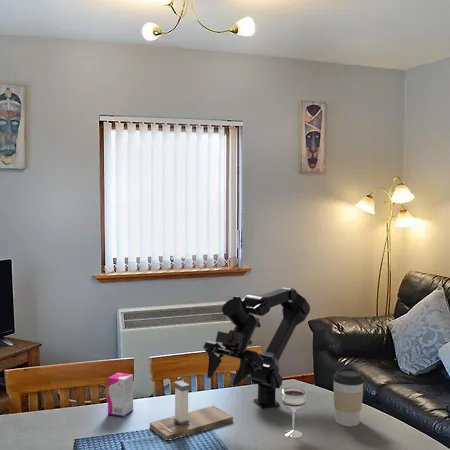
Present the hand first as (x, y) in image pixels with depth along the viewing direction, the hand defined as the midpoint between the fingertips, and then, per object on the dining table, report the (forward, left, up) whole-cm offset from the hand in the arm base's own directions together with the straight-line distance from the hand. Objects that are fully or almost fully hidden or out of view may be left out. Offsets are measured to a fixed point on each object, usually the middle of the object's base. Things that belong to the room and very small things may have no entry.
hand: (220, 381), depth 153 cm
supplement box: (-20, -25, -14) cm, 35 cm away
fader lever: (-4, -10, -12) cm, 16 cm away
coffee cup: (+8, +37, -14) cm, 40 cm away
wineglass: (+10, +18, -14) cm, 25 cm away
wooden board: (-5, -7, -14) cm, 16 cm away
